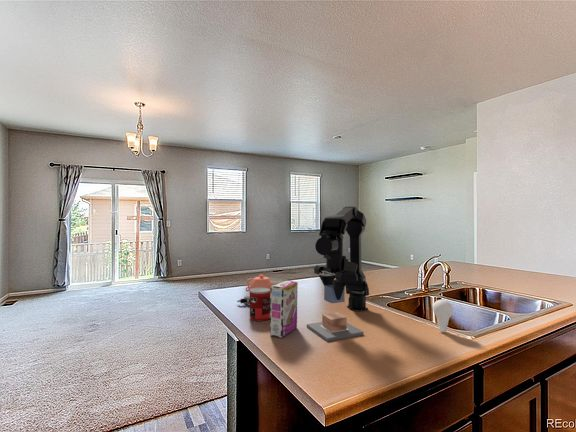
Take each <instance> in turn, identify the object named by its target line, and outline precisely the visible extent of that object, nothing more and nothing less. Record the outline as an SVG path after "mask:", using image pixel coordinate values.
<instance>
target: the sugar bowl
mask: <svg viewBox="0 0 576 432" xmlns="http://www.w3.org/2000/svg"><path fill="white" fill-rule="evenodd" d="M249 281H251V283H250V284H249ZM246 285H247V286H246V288H245V292H249V293H250V289H252V288H268V289H270V295H271V286H273V282H272V281H271V279H270V278H269V277H267V276H265V275H264V274H259V275H258V276H257V277H254V278H248V279H247V280H246Z"/></svg>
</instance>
